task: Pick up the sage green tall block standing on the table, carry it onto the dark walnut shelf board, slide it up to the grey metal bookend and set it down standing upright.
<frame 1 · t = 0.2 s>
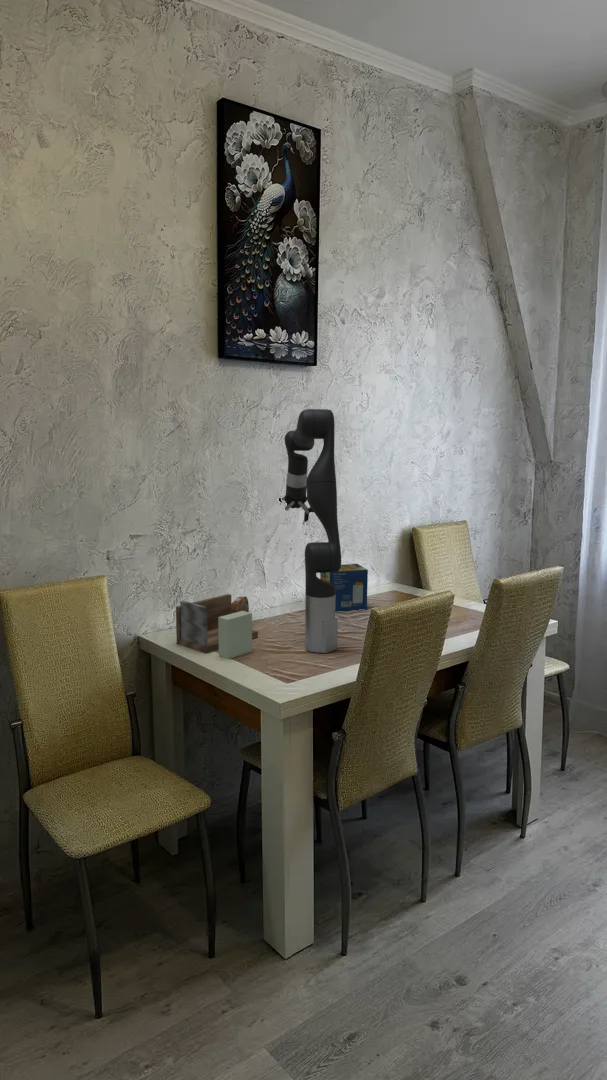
hand: (294, 521, 281), 31 cm above the table, tool tilted 20°, fingers open, 8 cm apart
tin: (239, 623, 259), on the table
bookshelf: (217, 640, 239), on the table
sage green tall block: (235, 653, 226), on the table
protein box: (343, 608, 280), on the table
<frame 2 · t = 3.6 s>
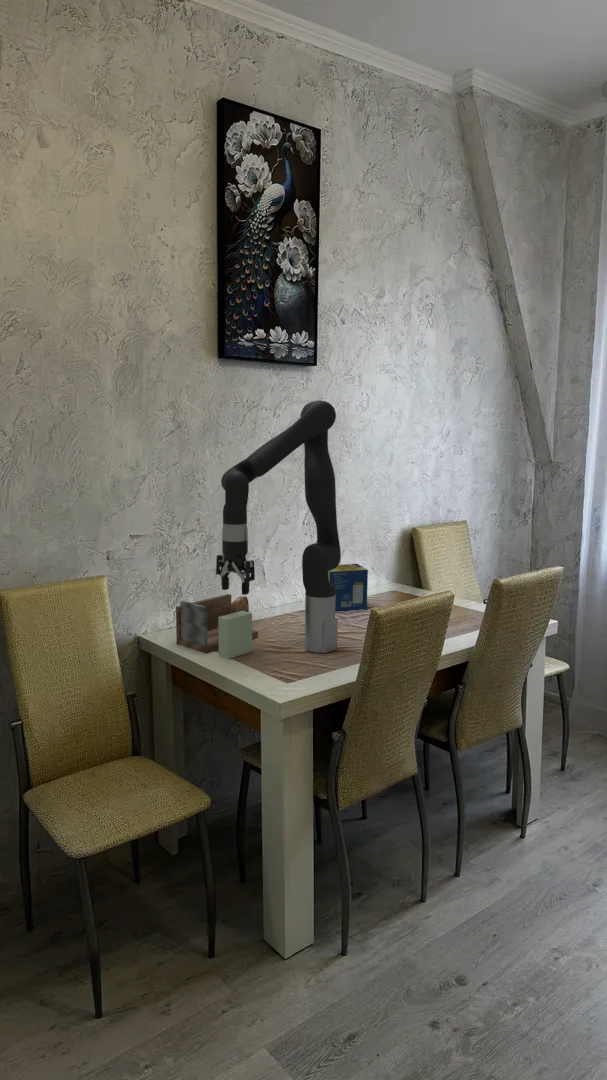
hand: (235, 591, 223), 19 cm above the table, tool pointing down, fingers open, 8 cm apart
nothing on the table moved.
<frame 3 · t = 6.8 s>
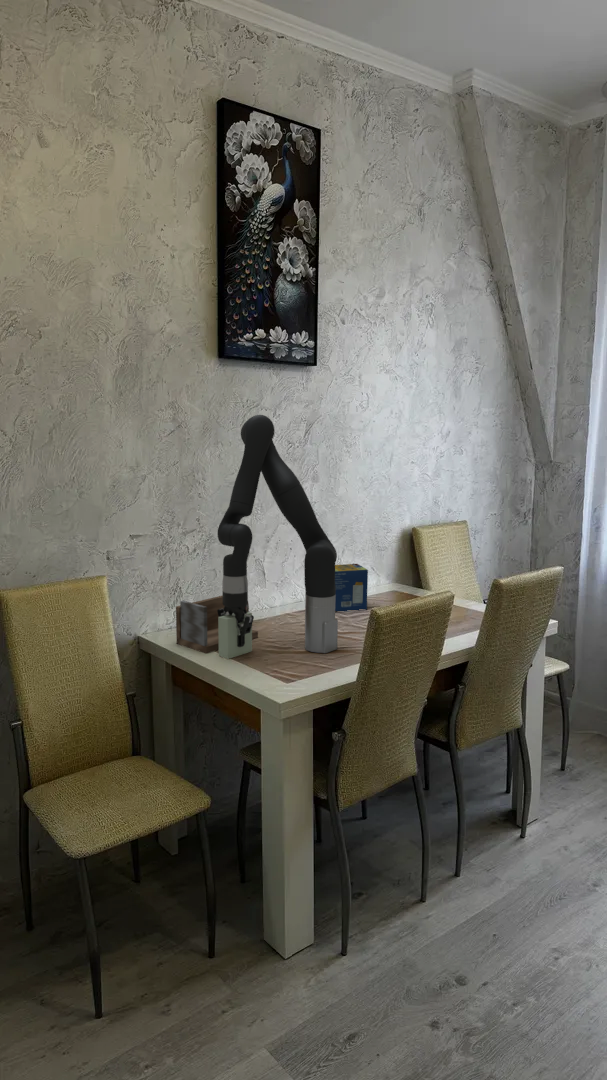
hand: (235, 644, 226), 3 cm above the table, tool pointing down, fingers closed on sage green tall block, 4 cm apart
sage green tall block: (235, 653, 226), on the table, touching gripper
everything else where it was.
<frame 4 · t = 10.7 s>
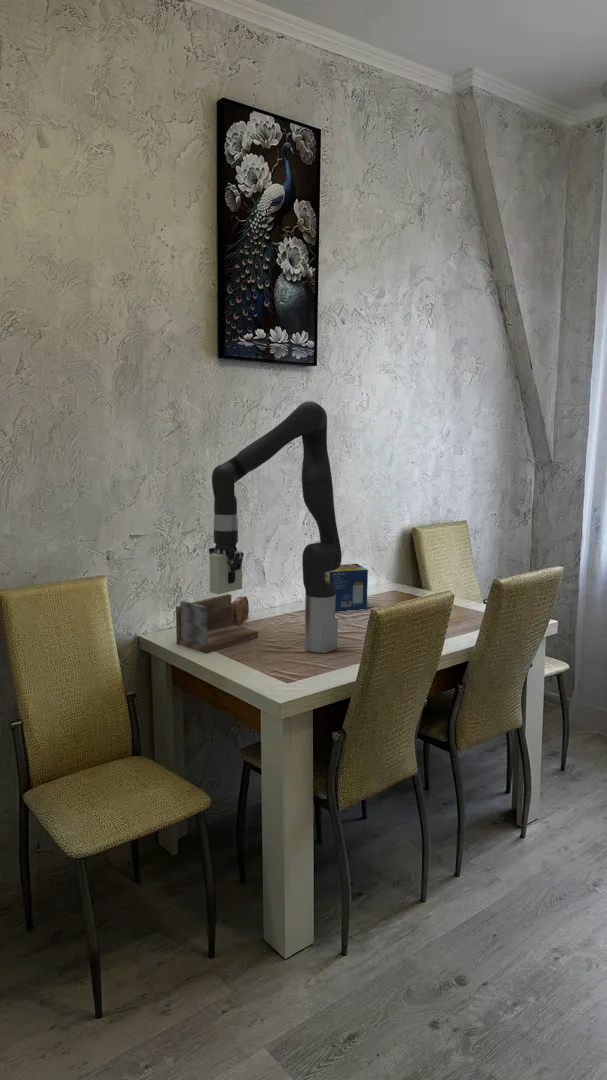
hand: (226, 581, 236), 19 cm above the table, tool pointing down, fingers closed on sage green tall block, 4 cm apart
sage green tall block: (226, 590, 236), point 16 cm above the table, touching gripper
everything else where it was.
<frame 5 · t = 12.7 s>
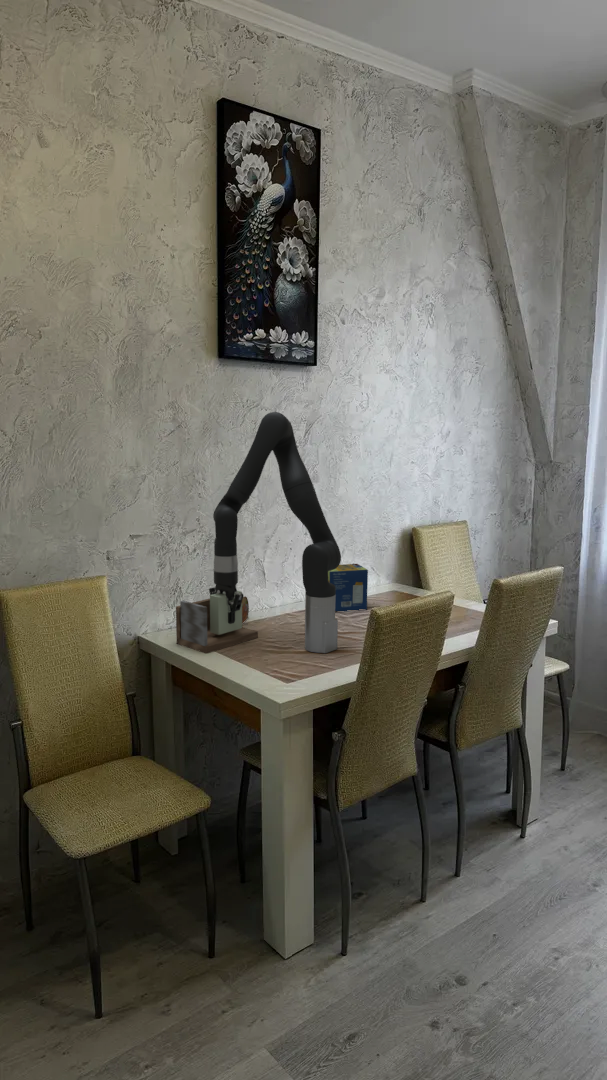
hand: (226, 621, 238), 6 cm above the table, tool pointing down, fingers closed on sage green tall block, 4 cm apart
sage green tall block: (226, 630, 238), point 3 cm above the table, touching gripper
everything else where it was.
when the fingers open (6 cm above the table, at t = 14.4 s): sage green tall block drops 1 cm, resting on bookshelf.
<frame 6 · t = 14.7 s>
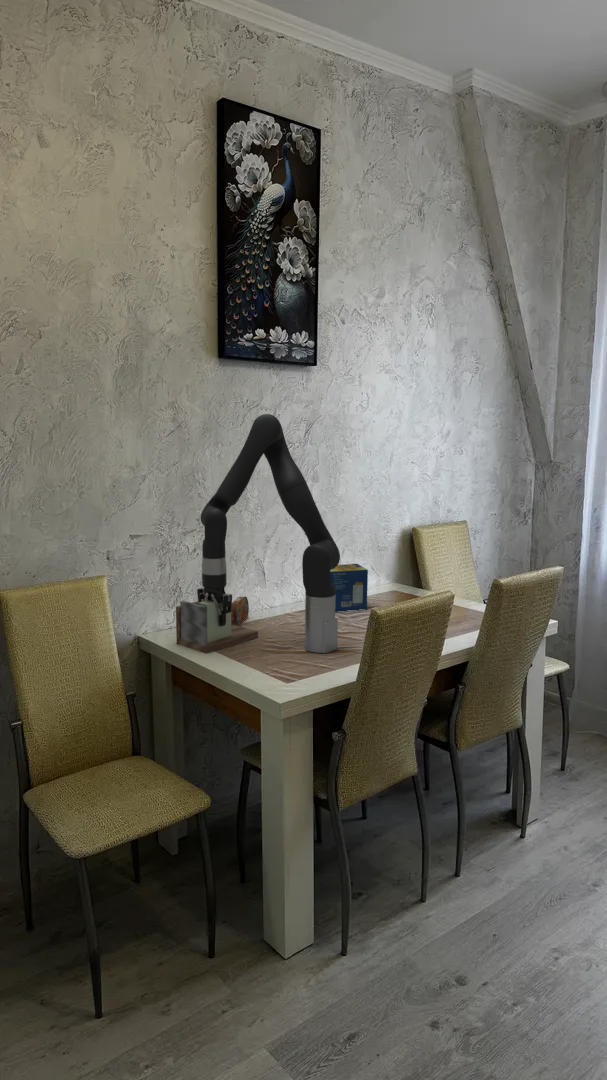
hand: (214, 623, 234), 7 cm above the table, tool pointing down, fingers open, 6 cm apart
sage green tall block: (215, 637, 235), point 2 cm above the table, touching bookshelf
everything else where it was.
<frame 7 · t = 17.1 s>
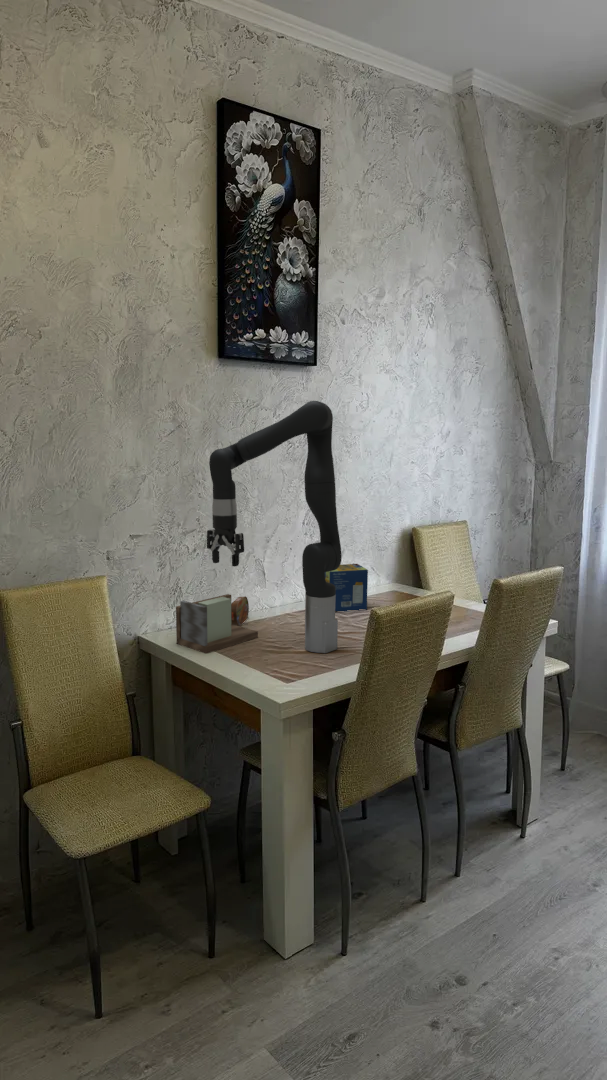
hand: (225, 564, 235), 25 cm above the table, tool pointing down, fingers open, 8 cm apart
nothing on the table moved.
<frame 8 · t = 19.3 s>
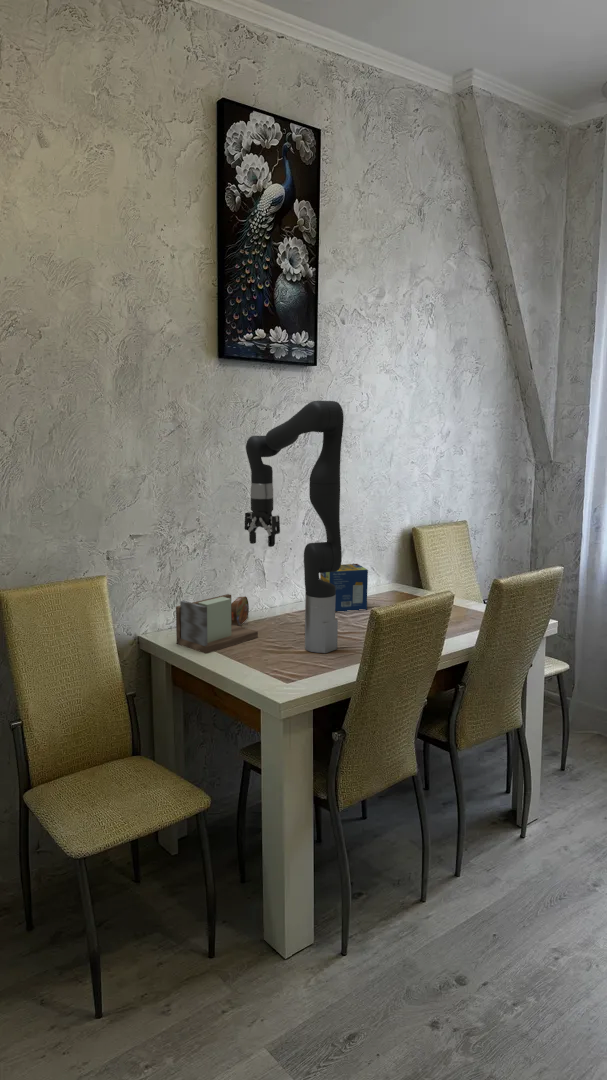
hand: (261, 544, 250), 28 cm above the table, tool pointing down, fingers open, 8 cm apart
nothing on the table moved.
at the end: sage green tall block 0.3 cm from the target spot, point 2.0 cm above the table; sage green tall block tilted 0°; the gripper is holding nothing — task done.
